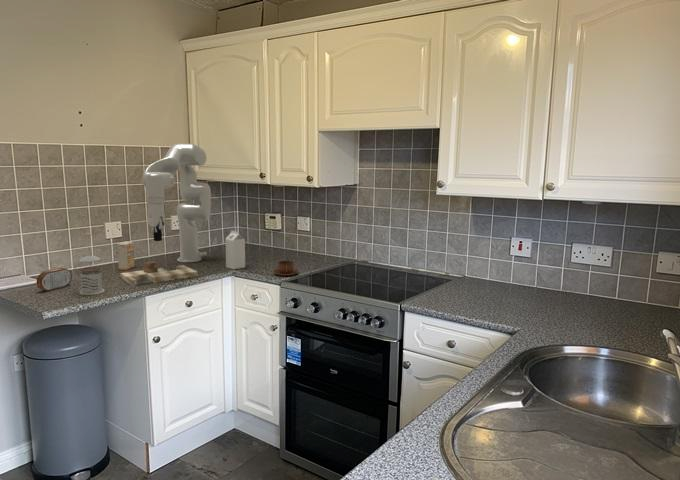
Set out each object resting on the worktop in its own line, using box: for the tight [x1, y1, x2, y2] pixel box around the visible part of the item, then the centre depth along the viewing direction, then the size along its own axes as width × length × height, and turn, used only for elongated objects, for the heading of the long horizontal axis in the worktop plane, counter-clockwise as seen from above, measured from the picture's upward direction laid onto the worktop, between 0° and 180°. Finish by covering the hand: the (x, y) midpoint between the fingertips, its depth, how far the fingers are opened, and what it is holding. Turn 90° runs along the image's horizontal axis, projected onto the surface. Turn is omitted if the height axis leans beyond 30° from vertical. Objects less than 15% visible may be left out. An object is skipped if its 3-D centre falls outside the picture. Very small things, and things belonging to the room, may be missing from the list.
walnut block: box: [142, 260, 159, 273], centre depth 235 cm, size 4×4×4 cm
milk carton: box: [225, 230, 246, 270], centre depth 257 cm, size 7×7×19 cm
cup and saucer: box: [272, 260, 299, 277], centre depth 246 cm, size 12×12×6 cm
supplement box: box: [117, 241, 135, 271], centre depth 252 cm, size 8×5×13 cm, turn 179°
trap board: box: [119, 264, 198, 287], centre depth 235 cm, size 30×17×2 cm, turn 130°
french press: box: [72, 232, 106, 296], centre depth 207 cm, size 10×12×25 cm
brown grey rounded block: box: [36, 267, 73, 292], centre depth 213 cm, size 15×3×8 cm, turn 157°
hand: (157, 240), depth 230 cm, fingers closed
